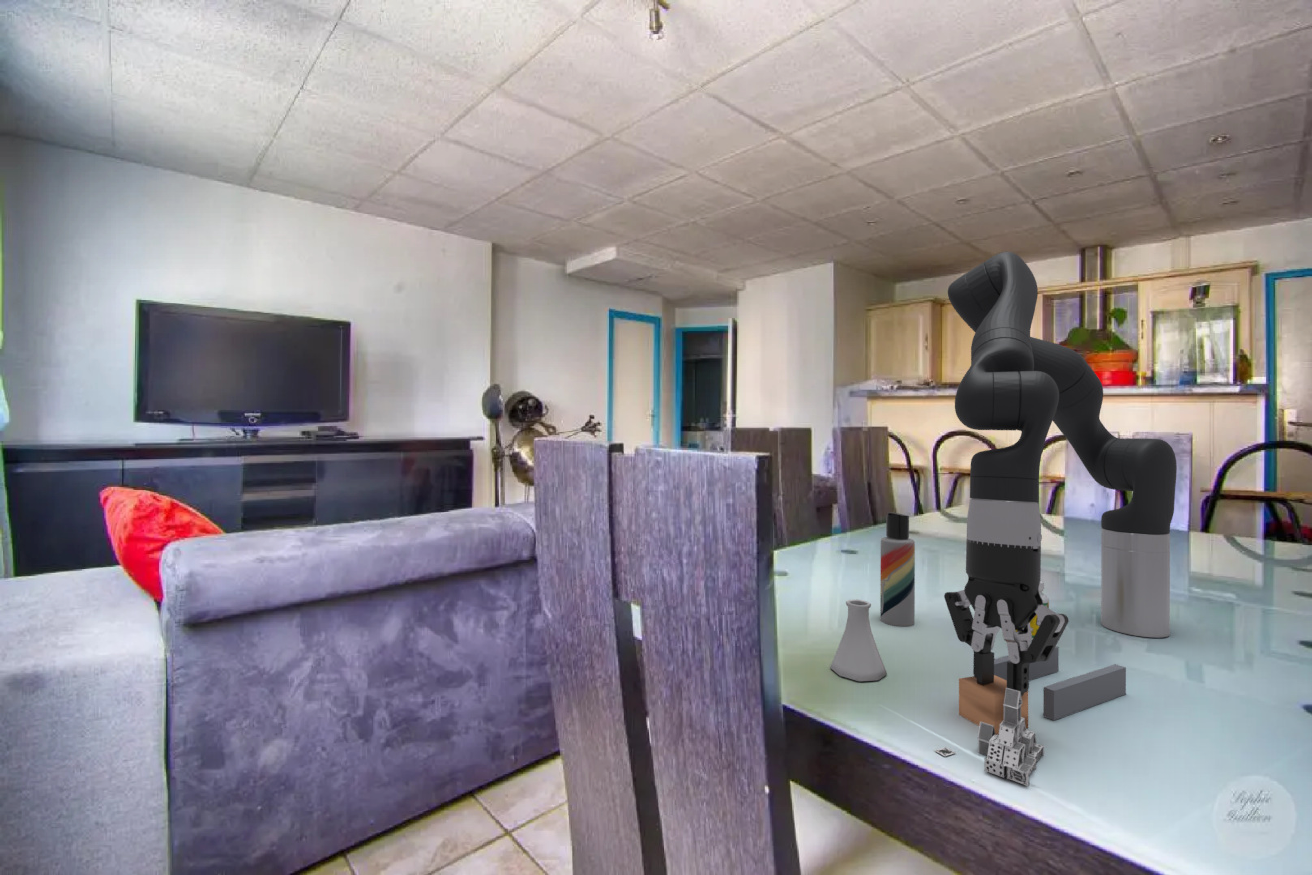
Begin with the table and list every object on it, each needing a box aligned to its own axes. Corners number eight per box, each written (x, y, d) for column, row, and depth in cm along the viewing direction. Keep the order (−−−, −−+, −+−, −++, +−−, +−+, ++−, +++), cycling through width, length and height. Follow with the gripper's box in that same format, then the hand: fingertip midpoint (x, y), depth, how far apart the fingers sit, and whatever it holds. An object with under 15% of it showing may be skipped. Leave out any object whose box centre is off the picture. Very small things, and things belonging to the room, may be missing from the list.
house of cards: (961, 723, 68) (961, 658, 68) (1049, 752, 62) (1049, 680, 62) (932, 752, 62) (933, 680, 62) (1027, 787, 56) (1027, 707, 56)
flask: (859, 687, 77) (859, 612, 77) (820, 668, 84) (820, 599, 84) (896, 677, 81) (897, 605, 81) (856, 659, 87) (856, 593, 87)
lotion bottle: (874, 618, 107) (875, 510, 107) (904, 618, 107) (904, 510, 107) (889, 628, 101) (890, 514, 101) (920, 628, 102) (921, 514, 102)
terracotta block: (991, 714, 71) (991, 673, 71) (1028, 733, 67) (1028, 690, 67) (958, 720, 70) (958, 678, 70) (994, 740, 65) (994, 695, 65)
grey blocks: (1049, 668, 84) (1049, 644, 84) (1125, 694, 75) (1125, 667, 75) (978, 689, 77) (978, 663, 77) (1054, 720, 68) (1054, 690, 68)
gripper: (928, 532, 73) (925, 673, 71) (1047, 547, 60) (1045, 718, 59) (967, 533, 76) (964, 667, 75) (1086, 547, 64) (1085, 709, 62)
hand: (1000, 689), depth 67 cm, fingers open, 3 cm apart
